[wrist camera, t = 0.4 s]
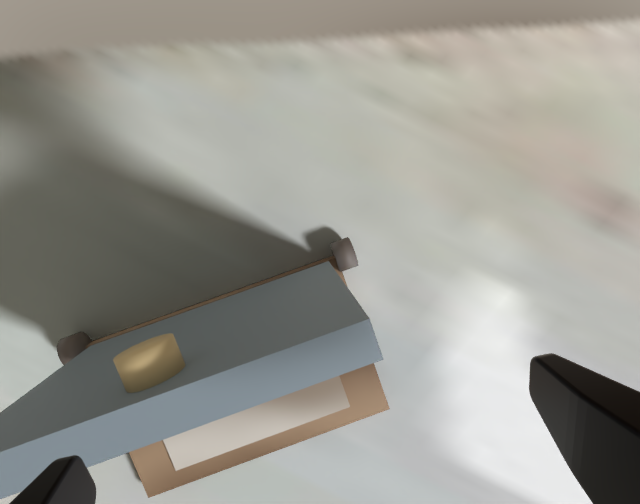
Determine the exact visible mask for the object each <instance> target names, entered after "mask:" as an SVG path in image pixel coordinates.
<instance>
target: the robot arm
mask: <svg viewBox="0 0 640 504" xmlns="http://www.w3.org/2000/svg"><path fill="white" fill-rule="evenodd" d="M529 391H530V395H531V398H532V401H533V402H534V404H535V406H536V408H537V410H538V412H539V414H540V415H541V417H542V419H543V421H544V423H545V425H546V426H547V428H548V430H549V432H550V434H551V436H552V437H553V439H554V441H555V443H556V445H557V447H558V448H559V450H560V452H561V454H562V456H563V458H564V459H565V461H566V463H567V465H568V466H569V468H570V470H571V471H572V473H573V474H574V476H575V478H576V479H577V481H578V482H579V484H580V485H581V487H582V488H583V489H584V491H585V492H586V494H587V495H588V497H589V498H590V500H591V501H592V503H593V504H640V392H639V391H636V390H634V389H632V388H630V387H627V386H625V385H623V384H621V383H618V382H616V381H614V380H612V379H609V378H607V377H605V376H603V375H601V374H598V373H596V372H594V371H592V370H589V369H587V368H585V367H583V366H580V365H578V364H576V363H574V362H571V361H569V360H567V359H565V358H562V357H560V356H558V355H556V354H552V353H551V354H544V355H540V356H535V357H533V358H532V360H531V363H530V382H529ZM95 500H96V487H95V483H94V481H93V479H92V477H91V475H90V473H89V471H88V469H87V468H86V466H85V464H84V462H83V460H82V458H81V457H79V456H78V455H73V456H68V457H63V458H59V459H56V460H54V461H53V462H52V463H51V464H50V465H49V466H48V467H47V468H46V469H45V470H44V471H43V472H41V473H40V474H39V475H38V476H37V477H36V478H35V479H34V480H33V481H32V482H31V483H30V484H29V485H28V486H27V487H26V488H25V489H24V490H23V491H22V492H21V493H20V494H19V495H18V496H17V497H16V498H15V499H14V500H13V501H12V502H11V503H10V504H95Z"/></svg>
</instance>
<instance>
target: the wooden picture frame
mask: <svg viewBox="0 0 640 504" xmlns="http://www.w3.org/2000/svg"><path fill="white" fill-rule="evenodd" d="M330 246H331V250H332V253H333V256H331V257H328V258H325V259H322V260H319V261H316V262H314V263H311V264H308V265H305V266H302V267H300V268H297V269H294V270H291V271H288V272H286V273H283V274H280V275H277V276H274V277H272V278H269V279H266V280H263V281H260V282H257V283H255V284H252V285H249V286H246V287H243V288H241V289H238V290H235V291H232V292H229V293H227V294H224V295H221V296H218V297H215V298H213V299H210V300H207V301H204V302H201V303H198V304H196V305H193V306H190V307H187V308H184V309H182V310H179V311H176V312H173V313H170V314H168V315H165V316H162V317H159V318H156V319H154V320H151V321H148V322H145V323H142V324H140V325H137V326H134V327H131V328H128V329H125V330H123V331H120V332H117V333H114V334H111V335H109V336H106V337H103V338H100V339H97V340H95V341H92V342H91V340H90V338H89V337H88V335H87V334H85V333H84V332H79V333H77V334H74V335H71V336H68V337H65V338H63V339H60V340H59V342H58V345H57V352H58V356H59V358H60V361H61V362H62V364H63V365H65V364H67V363H68V362H69V361H71V360H72V359H73V358H75V357H76V356H77V355H79V354H80V353H81V352H83V351H84V350H85V349H87V348H88V347H89V346H91V345H94V344H97V343H99V342H102V341H105V340H108V339H111V338H113V337H116V336H119V335H122V334H125V333H128V332H130V331H133V330H136V329H139V328H142V327H144V326H147V325H150V324H153V323H156V322H158V321H161V320H164V319H167V318H170V317H172V316H175V315H178V314H181V313H184V312H186V311H189V310H192V309H195V308H198V307H200V306H203V305H206V304H209V303H212V302H215V301H217V300H220V299H223V298H226V297H229V296H231V295H234V294H237V293H240V292H243V291H245V290H248V289H251V288H254V287H257V286H259V285H262V284H265V283H268V282H271V281H273V280H276V279H279V278H282V277H285V276H288V275H290V274H293V273H296V272H299V271H302V270H304V269H307V268H310V267H313V266H316V265H318V264H321V263H324V262H327V261H329V262H330V264H331V265H332V266H333V268H334V269H335V271H336V272H337V274H338V275H339V276H340V278H341V279H342V281H343V282H344V283H345V285H346V282H345V279H344V276H343V273H342V271H344V270H347V269H350V268H353V267H356V266H358V261H357V257H356V254H355V251H354V249H353V246H352V244H351V241H350V239H349V238H348V237H347V238H344V239H341V240H339V241H336V242H333V243H330ZM346 286H347V285H346ZM388 409H389V406H388V403H387V400H386V397H385V395H384V392H383V389H382V386H381V383H380V380H379V377H378V374H377V371H376V369H375V366H374V363H372V364H369V365H367V366H364V367H361V368H358V369H356V370H353V371H350V372H347V373H345V374H342V375H339V376H336V377H334V378H331V379H328V380H325V381H323V382H320V383H317V384H315V385H312V386H309V387H306V388H304V389H301V390H298V391H295V392H293V393H290V394H287V395H284V396H282V397H279V398H276V399H273V400H271V401H268V402H265V403H262V404H260V405H257V406H254V407H252V408H249V409H246V410H243V411H241V412H238V413H235V414H232V415H230V416H227V417H224V418H221V419H219V420H216V421H213V422H210V423H208V424H205V425H202V426H199V427H197V428H194V429H191V430H188V431H186V432H183V433H180V434H178V435H175V436H172V437H169V438H167V439H164V440H161V441H158V442H156V443H153V444H150V445H147V446H145V447H142V448H139V449H136V450H134V451H131V452H129V454H130V456H131V458H132V461H133V463H134V465H135V468H136V470H137V472H138V475H139V477H140V479H141V482H142V484H143V486H144V488H145V491H146V493H147V495H148V498H149V497H152V496H155V495H157V494H160V493H163V492H166V491H168V490H171V489H174V488H176V487H179V486H182V485H185V484H187V483H190V482H193V481H195V480H198V479H201V478H204V477H206V476H209V475H212V474H214V473H217V472H220V471H222V470H225V469H228V468H231V467H233V466H236V465H239V464H241V463H244V462H247V461H250V460H252V459H255V458H258V457H260V456H263V455H266V454H269V453H271V452H274V451H277V450H279V449H282V448H285V447H288V446H290V445H293V444H296V443H298V442H301V441H304V440H307V439H309V438H312V437H315V436H317V435H320V434H323V433H326V432H328V431H331V430H334V429H336V428H339V427H342V426H345V425H347V424H350V423H353V422H355V421H358V420H361V419H363V418H366V417H369V416H372V415H374V414H377V413H380V412H382V411H385V410H388Z"/></svg>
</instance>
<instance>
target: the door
mask: <svg viewBox="0 0 640 504" xmlns="http://www.w3.org/2000/svg"><path fill="white" fill-rule="evenodd" d="M380 360H383V357H382V354H381V351H380V348H379V345H378V342H377V339H376V336H375V333H374V331H373V328H372V325H371V322H370V319H369V317H368V316H367V315H366V313H365V312H364V310H363V309H362V307H361V306H360V305H359V303H358V302H357V300H356V299H355V298H354V296H353V295H352V293H351V292H350V290H349V289H348V288H347V286H346V285H345V283H344V282H343V281H342V279H341V278H340V276H339V275H338V274H337V272H336V271H335V269H334V268H333V266H332V265H331V264H330V262H329V261H327V262H324V263H321V264H318V265H316V266H313V267H310V268H307V269H304V270H302V271H299V272H296V273H293V274H290V275H288V276H285V277H282V278H279V279H276V280H273V281H271V282H268V283H265V284H262V285H259V286H257V287H254V288H251V289H248V290H245V291H243V292H240V293H237V294H234V295H231V296H229V297H226V298H223V299H220V300H217V301H215V302H212V303H209V304H206V305H203V306H200V307H198V308H195V309H192V310H189V311H186V312H184V313H181V314H178V315H175V316H172V317H170V318H167V319H164V320H161V321H158V322H156V323H153V324H150V325H147V326H144V327H142V328H139V329H136V330H133V331H130V332H128V333H125V334H122V335H119V336H116V337H113V338H111V339H108V340H105V341H102V342H99V343H97V344H94V345H91V346H89V347H88V348H87V349H85V350H84V351H83V352H81V353H80V354H79V355H77V356H76V357H75V358H73V359H72V360H71V361H69V362H68V363H67V364H65V365H64V366H62V367H61V368H60V369H58V370H57V371H56V372H54V373H53V374H52V375H50V376H49V377H48V378H46V379H45V380H44V381H42V382H41V383H40V384H38V385H37V386H36V387H34V388H33V389H32V390H30V391H29V392H28V393H26V394H25V395H24V396H22V397H21V398H20V399H18V400H17V401H15V402H14V403H13V404H11V405H10V406H9V407H7V408H6V409H5V410H3V411H2V412H1V413H0V499H2V498H5V497H8V496H10V495H13V494H16V493H19V492H21V491H23V490H24V489H25V488H26V487H27V486H28V485H29V484H30V483H31V482H32V481H33V480H34V479H35V478H36V477H37V476H38V475H39V474H40V473H41V472H43V471H44V470H45V469H46V468H47V467H48V466H49V465H50V464H51V463H52V462H53V461H54V460H56V459H59V458H63V457H68V456H73V455H78V456H79V457H81V458H82V460H83V462H84V464H85V466H86V468H87V467H90V466H93V465H95V464H98V463H101V462H104V461H106V460H109V459H112V458H115V457H117V456H120V455H123V454H125V453H128V452H131V451H134V450H136V449H139V448H142V447H145V446H147V445H150V444H153V443H156V442H158V441H161V440H164V439H167V438H169V437H172V436H175V435H178V434H180V433H183V432H186V431H188V430H191V429H194V428H197V427H199V426H202V425H205V424H208V423H210V422H213V421H216V420H219V419H221V418H224V417H227V416H230V415H232V414H235V413H238V412H241V411H243V410H246V409H249V408H252V407H254V406H257V405H260V404H262V403H265V402H268V401H271V400H273V399H276V398H279V397H282V396H284V395H287V394H290V393H293V392H295V391H298V390H301V389H304V388H306V387H309V386H312V385H315V384H317V383H320V382H323V381H325V380H328V379H331V378H334V377H336V376H339V375H342V374H345V373H347V372H350V371H353V370H356V369H358V368H361V367H364V366H367V365H369V364H372V363H375V362H378V361H380Z"/></svg>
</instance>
